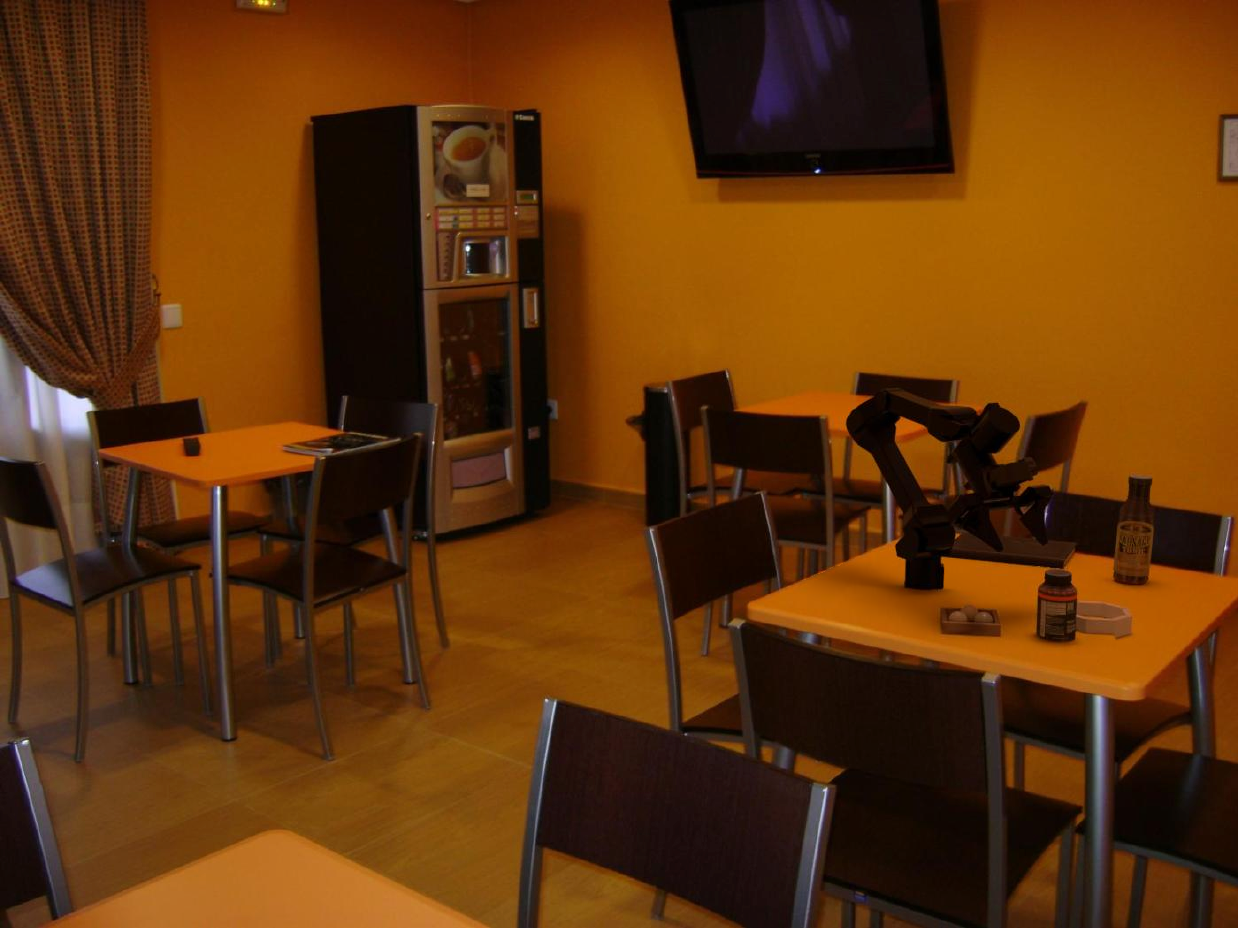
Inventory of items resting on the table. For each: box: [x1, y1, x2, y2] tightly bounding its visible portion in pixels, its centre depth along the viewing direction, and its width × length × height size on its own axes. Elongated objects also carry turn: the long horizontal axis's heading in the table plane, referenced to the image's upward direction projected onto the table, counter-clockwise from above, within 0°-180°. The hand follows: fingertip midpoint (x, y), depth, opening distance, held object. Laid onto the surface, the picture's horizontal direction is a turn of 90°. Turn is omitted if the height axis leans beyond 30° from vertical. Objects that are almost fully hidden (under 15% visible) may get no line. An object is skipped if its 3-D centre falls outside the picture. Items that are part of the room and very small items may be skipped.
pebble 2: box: [960, 604, 979, 622], centre depth 209 cm, size 3×3×3 cm
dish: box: [1076, 600, 1133, 639], centre depth 208 cm, size 11×11×3 cm
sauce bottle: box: [1112, 474, 1156, 585], centre depth 234 cm, size 7×6×20 cm
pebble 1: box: [948, 611, 968, 622], centre depth 206 cm, size 3×3×3 cm
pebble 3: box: [974, 612, 993, 623], centre depth 205 cm, size 3×3×3 cm
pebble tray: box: [939, 606, 1002, 637], centre depth 207 cm, size 9×9×3 cm
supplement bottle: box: [1035, 568, 1078, 643], centre depth 201 cm, size 6×6×11 cm
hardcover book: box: [948, 531, 1078, 570], centre depth 257 cm, size 16×23×2 cm
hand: (1023, 547), depth 207 cm, fingers open, 9 cm apart
